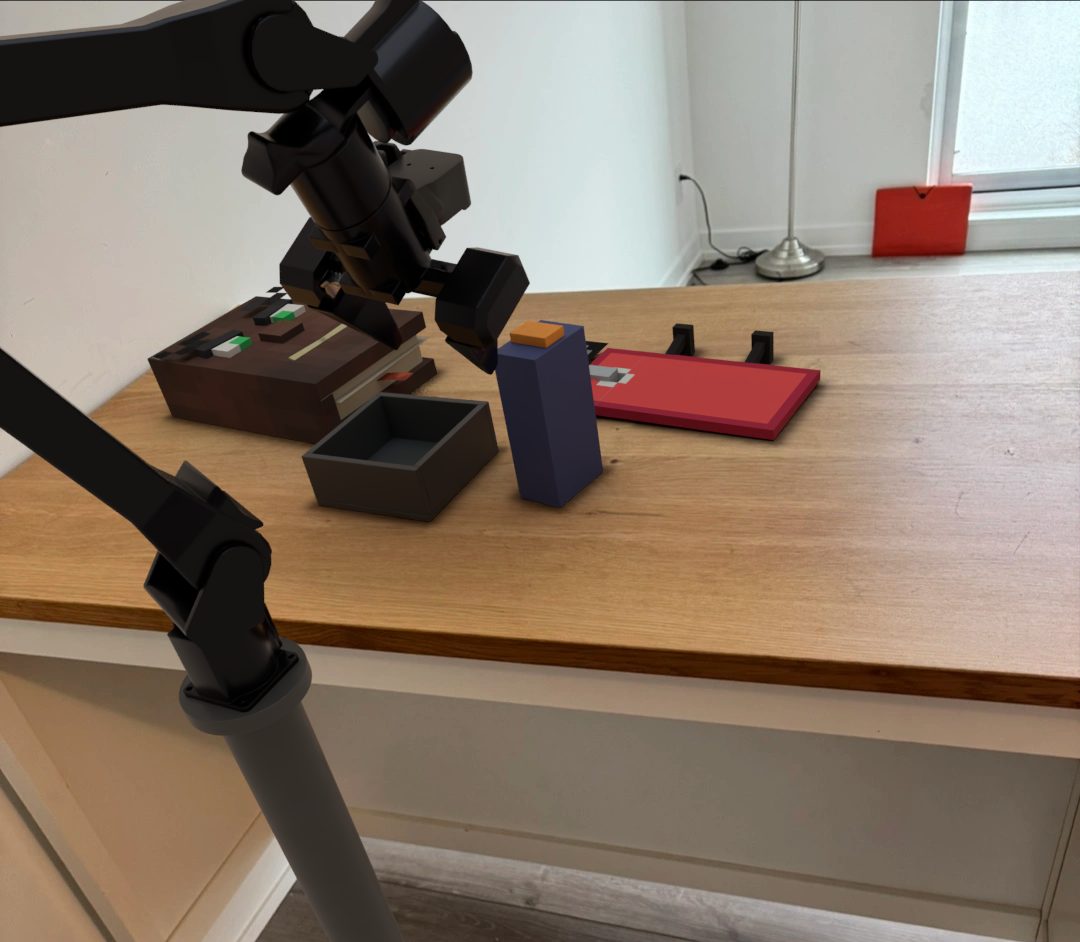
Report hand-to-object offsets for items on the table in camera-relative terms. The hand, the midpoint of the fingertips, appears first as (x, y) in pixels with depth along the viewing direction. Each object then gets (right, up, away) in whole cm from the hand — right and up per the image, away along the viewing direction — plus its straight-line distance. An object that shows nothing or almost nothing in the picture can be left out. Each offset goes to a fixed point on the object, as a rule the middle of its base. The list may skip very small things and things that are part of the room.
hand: (444, 357), depth 79 cm
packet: (+9, -8, +10) cm, 16 cm away
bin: (-5, -6, +15) cm, 17 cm away
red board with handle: (+19, +4, +21) cm, 29 cm away
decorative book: (-19, +7, +33) cm, 39 cm away
